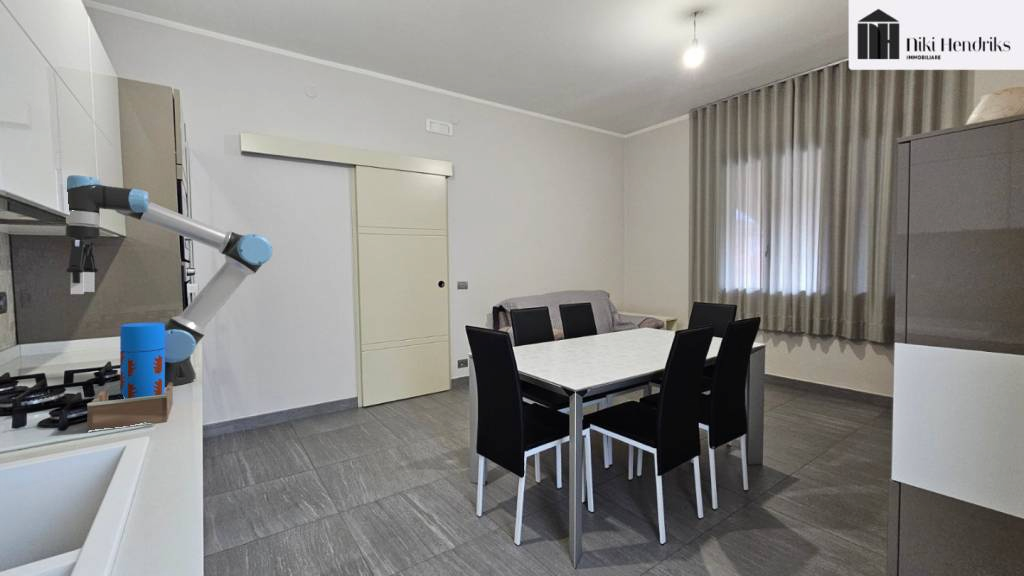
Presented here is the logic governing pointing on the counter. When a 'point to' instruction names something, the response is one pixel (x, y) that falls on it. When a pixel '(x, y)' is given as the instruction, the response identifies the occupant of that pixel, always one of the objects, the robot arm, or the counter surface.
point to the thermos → (142, 360)
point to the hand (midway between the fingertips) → (83, 293)
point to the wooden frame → (128, 410)
